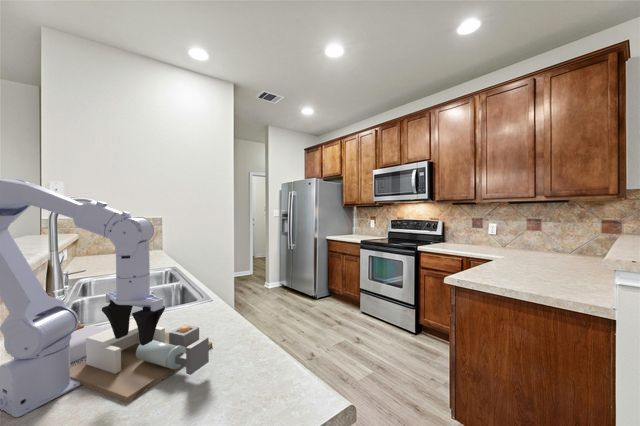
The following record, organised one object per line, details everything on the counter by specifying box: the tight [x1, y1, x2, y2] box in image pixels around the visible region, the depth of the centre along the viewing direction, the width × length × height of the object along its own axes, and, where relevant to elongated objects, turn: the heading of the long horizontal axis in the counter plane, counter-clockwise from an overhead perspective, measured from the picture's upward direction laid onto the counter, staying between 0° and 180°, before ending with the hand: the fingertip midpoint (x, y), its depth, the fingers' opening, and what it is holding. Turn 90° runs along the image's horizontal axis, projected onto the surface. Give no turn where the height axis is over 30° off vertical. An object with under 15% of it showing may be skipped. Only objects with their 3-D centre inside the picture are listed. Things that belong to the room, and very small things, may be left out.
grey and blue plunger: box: [136, 336, 210, 376], centre depth 60 cm, size 5×17×7 cm, turn 70°
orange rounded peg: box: [178, 325, 190, 333], centre depth 69 cm, size 2×2×4 cm
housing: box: [85, 318, 200, 374], centre depth 66 cm, size 17×16×6 cm
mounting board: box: [70, 331, 213, 403], centre depth 64 cm, size 22×22×1 cm
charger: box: [70, 325, 112, 364], centre depth 71 cm, size 5×9×15 cm
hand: (133, 339), depth 55 cm, fingers open, 7 cm apart
